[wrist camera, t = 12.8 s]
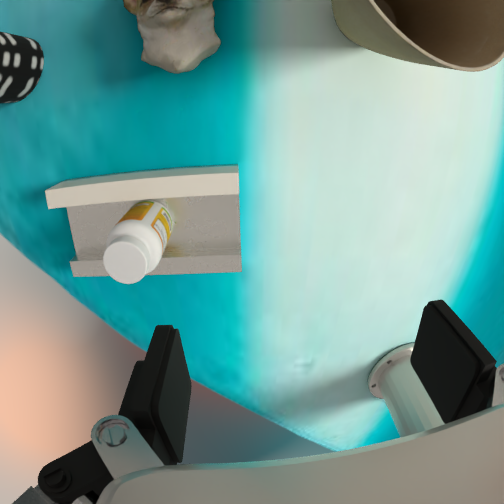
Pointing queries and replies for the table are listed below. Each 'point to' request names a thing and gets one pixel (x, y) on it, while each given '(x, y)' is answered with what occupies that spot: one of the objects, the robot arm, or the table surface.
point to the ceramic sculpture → (175, 32)
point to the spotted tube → (18, 66)
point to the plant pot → (427, 30)
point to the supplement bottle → (137, 242)
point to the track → (174, 200)
